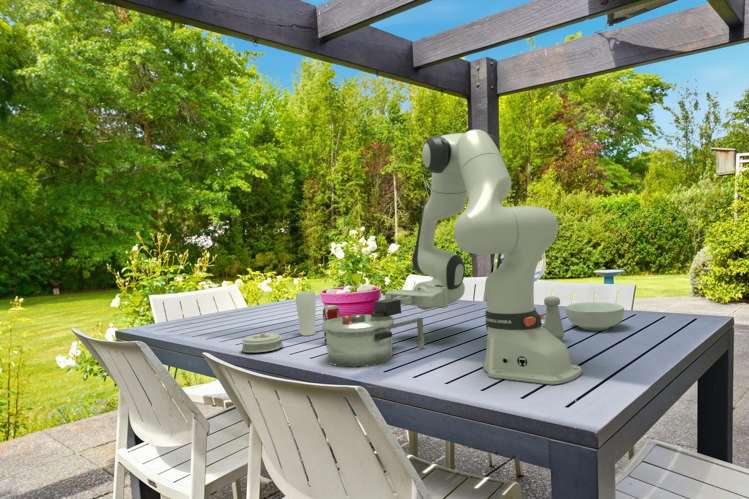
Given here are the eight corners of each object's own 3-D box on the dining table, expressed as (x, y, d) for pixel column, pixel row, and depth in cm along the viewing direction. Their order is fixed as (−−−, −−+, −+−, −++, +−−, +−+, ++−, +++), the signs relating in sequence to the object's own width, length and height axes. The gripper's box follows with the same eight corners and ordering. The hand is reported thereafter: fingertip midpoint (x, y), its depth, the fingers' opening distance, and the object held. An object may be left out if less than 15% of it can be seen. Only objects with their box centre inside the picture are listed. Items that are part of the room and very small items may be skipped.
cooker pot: (432, 349, 148) (430, 318, 148) (363, 372, 129) (361, 336, 129) (378, 340, 164) (376, 312, 164) (310, 359, 146) (308, 328, 145)
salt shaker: (545, 338, 152) (543, 295, 152) (566, 339, 150) (564, 295, 149) (541, 343, 147) (539, 298, 147) (562, 344, 145) (560, 298, 144)
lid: (280, 353, 156) (279, 337, 156) (238, 356, 156) (237, 340, 155) (285, 344, 169) (283, 329, 169) (246, 347, 168) (245, 332, 168)
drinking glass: (320, 332, 184) (317, 290, 184) (314, 336, 178) (311, 293, 177) (302, 332, 186) (299, 291, 185) (295, 336, 179) (292, 294, 178)
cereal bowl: (556, 330, 164) (555, 308, 163) (581, 321, 175) (580, 300, 174) (610, 336, 151) (609, 312, 151) (633, 326, 162) (632, 304, 162)
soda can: (338, 345, 162) (336, 307, 162) (322, 345, 163) (320, 307, 163) (343, 341, 167) (340, 304, 167) (327, 341, 168) (325, 305, 168)
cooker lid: (420, 319, 146) (419, 301, 146) (354, 335, 129) (353, 315, 129) (372, 313, 161) (371, 297, 161) (307, 328, 144) (306, 309, 144)
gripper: (401, 284, 171) (371, 289, 161) (450, 286, 156) (420, 292, 147) (403, 303, 171) (373, 309, 162) (452, 307, 156) (422, 314, 147)
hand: (396, 301), depth 154 cm, fingers closed
